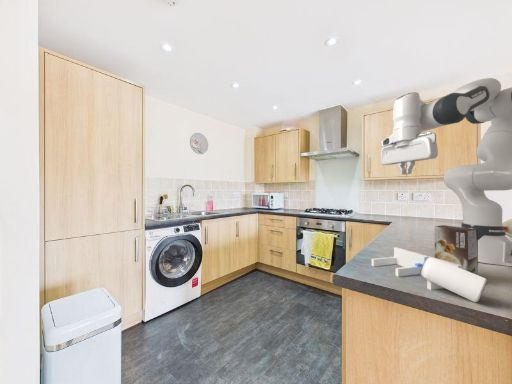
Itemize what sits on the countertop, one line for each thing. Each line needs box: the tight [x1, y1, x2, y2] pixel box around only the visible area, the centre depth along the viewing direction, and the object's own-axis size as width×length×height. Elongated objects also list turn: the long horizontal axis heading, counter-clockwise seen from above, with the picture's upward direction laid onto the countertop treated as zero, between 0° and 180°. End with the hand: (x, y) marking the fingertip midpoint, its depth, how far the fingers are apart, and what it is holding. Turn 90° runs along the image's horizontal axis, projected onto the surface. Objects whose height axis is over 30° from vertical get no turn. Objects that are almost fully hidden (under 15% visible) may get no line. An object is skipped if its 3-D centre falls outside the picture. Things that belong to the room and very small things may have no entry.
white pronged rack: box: [371, 246, 462, 291], centre depth 71 cm, size 12×21×6 cm, turn 15°
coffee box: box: [433, 224, 479, 276], centre depth 69 cm, size 9×6×16 cm
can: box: [419, 257, 488, 303], centre depth 57 cm, size 6×6×12 cm
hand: (406, 174), depth 80 cm, fingers closed
